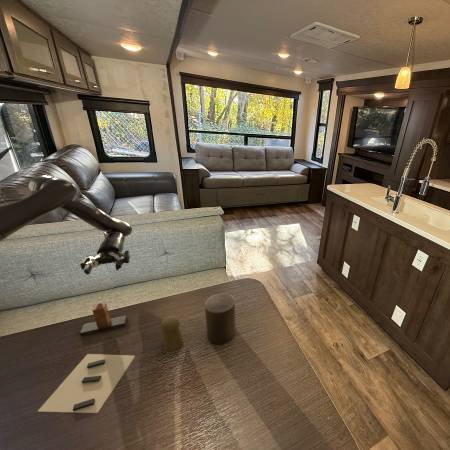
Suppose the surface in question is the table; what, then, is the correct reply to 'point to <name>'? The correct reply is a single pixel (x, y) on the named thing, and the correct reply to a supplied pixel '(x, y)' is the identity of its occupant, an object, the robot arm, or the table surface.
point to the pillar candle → (220, 318)
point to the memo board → (88, 384)
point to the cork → (171, 334)
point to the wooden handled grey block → (102, 321)
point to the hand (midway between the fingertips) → (102, 270)
